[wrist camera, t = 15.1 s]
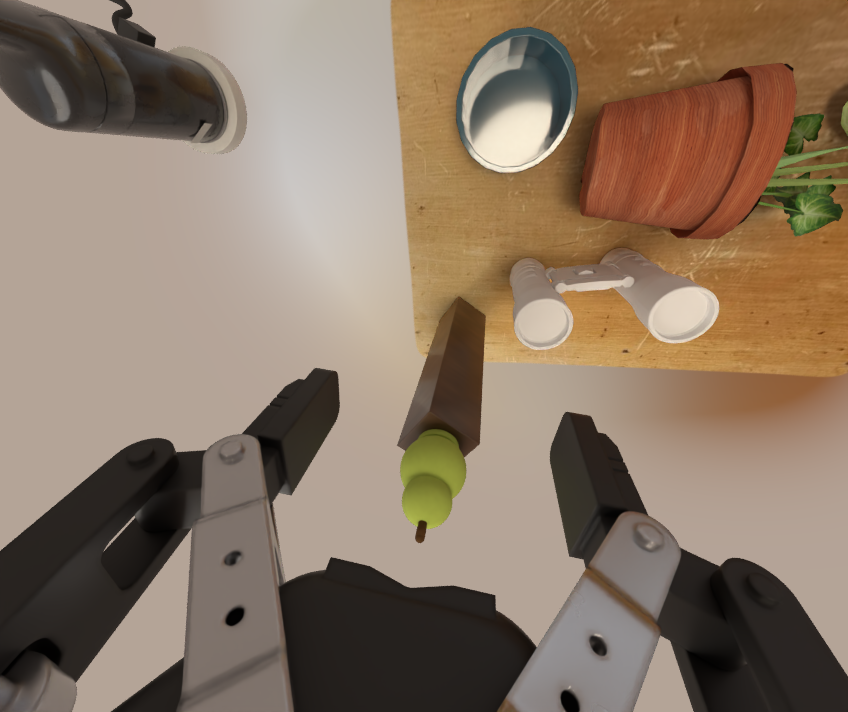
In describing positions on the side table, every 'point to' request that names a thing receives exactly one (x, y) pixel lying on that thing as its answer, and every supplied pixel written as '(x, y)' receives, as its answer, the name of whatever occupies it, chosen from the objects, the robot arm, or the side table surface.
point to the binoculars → (621, 269)
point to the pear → (431, 479)
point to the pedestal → (451, 381)
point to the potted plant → (708, 157)
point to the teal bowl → (516, 100)
